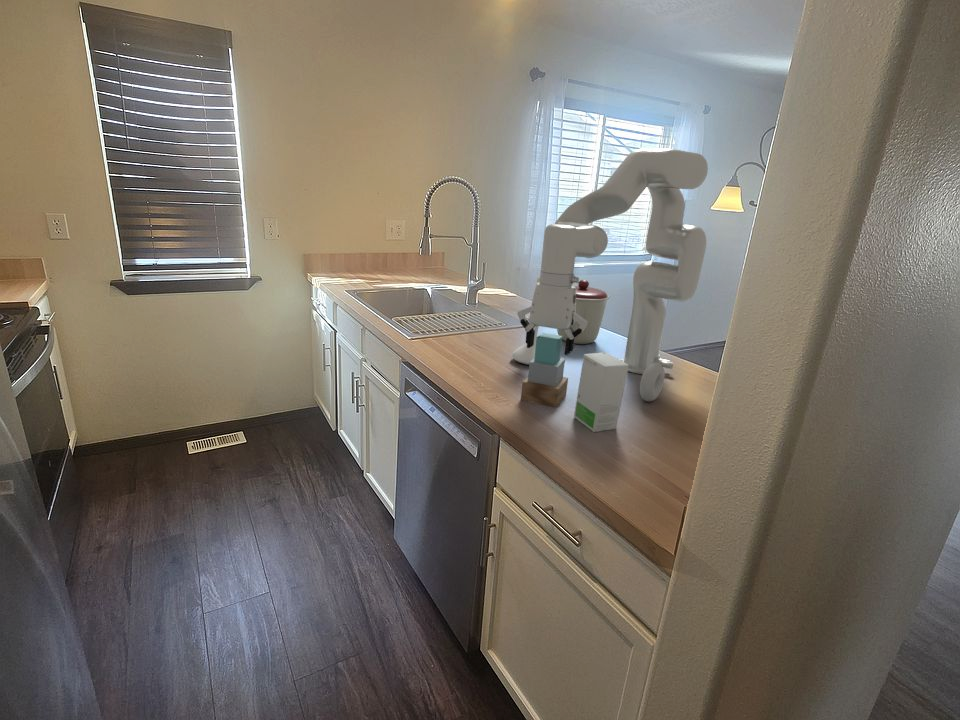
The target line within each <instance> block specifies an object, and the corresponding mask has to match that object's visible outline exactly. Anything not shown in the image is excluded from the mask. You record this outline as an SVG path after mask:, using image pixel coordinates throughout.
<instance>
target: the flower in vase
mask: <svg viewBox="0 0 960 720" xmlns="http://www.w3.org/2000/svg"><path fill="white" fill-rule="evenodd" d="M539 282H540V277H538V278H537V277H536V284H537V283H539ZM525 318H526V319H527V320H528V322H529V323H531V322H530V314H529V315H525ZM539 327H540V326H537V325H536V326H535V327H534V329H533V330H534V331H535V335H534V345H533V346H532V347H530V348H527V343H526V342H525V343H523V345H521V346H519V347H518V348H516V349H515V350H514V351H513V352H512V355H511V356H512V358H513V360H514V361H516V362H518V363H521V364H524V365H528V366H529V362H530V361H531V360H532V359H533V358H534V357H535V349H536V338H537V337H538V333H539V332H538V331H539Z"/></svg>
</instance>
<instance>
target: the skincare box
mask: <svg viewBox="0 0 960 720" xmlns="http://www.w3.org/2000/svg"><path fill="white" fill-rule="evenodd" d="M581 365H582V366H581V371H580V376H579V377H580V378H579V384H578V389H577V396H576V400H575V407H574V414H573V417H574V419H576V420H577V421H578V422H580V423H581V424H582V425H584V426H585V427H587V428H588V429H589V430H592V432H593V433H598V432H605V431H610V430H611V429H612V430H616V429H617V426H618V422H619V416H620V411H621V407H622V406H621V405H622V400H623V397H624V392H625V386H626V382H627V377H628V372H629V371H628V367H629V365H628V364H626V363H624V362H622V361H621V360H620V358H619V357H616V356H614V355H612V354H610V353H608V352H606V351H605V352H593V353H592V352H591V353H584V354H583V360H582V364H581ZM604 430H605V431H604Z"/></svg>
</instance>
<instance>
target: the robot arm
mask: <svg viewBox="0 0 960 720" xmlns="http://www.w3.org/2000/svg"><path fill="white" fill-rule="evenodd" d="M708 170H709V168H708V162H707V159H706V158H705V156H704V155H702V154H701V153H699V152H698V153H697V152H692V151H686V150H680V149H676V148H638V149H634V150H633V151H632V152H630V153H629V154H628V155H626V157H625V159H623V161H622V162H621V163H620V164H619V166H618V167H617V168H616V169H615V170H614V172H613V173H612V174H611V176H610V177H609V178H608V179H607V180H606V181H605V183H604V184H603V185H602V186H600V188H598V189H595V190H594V191H591V192H590V193H589V194H587V195H585V196H583V197H581V198H579V199H577V200H576V201H574V202H573V203H571V204H570V205H569V206H568V207H567V208H566V209H565V210H564V211H563V212H562V213H561V215H560V216H559V217H558V218H557V220H556V221H555V222H554V223H553V224H549V225H547V226H546V227H545V229H544V234H543V244H542V253H541V262H540V263H541V264H540V266H541V267H540V274H539V276H540V282H539V283H537V282H536V286H535V289H534V293H533V296H532V301H531V306H529V307H526V308H524V309H520V310H518V311H517V313H516V314H517V317H518V318H519V322H520V324H521V326H522V327H523V328H524V331H525V332H526V334H525V343H527V348H530V347H532V346H533V345H534V335H535V331H534V330H533V329H534V327H535V326H536V325H537V326H539V327H543V328H547V329H548V328H549V329H555V330H557V329H560V330H564V331H565V333H566V334H567V336H568V338H567V339H566V341H565V344H564V353H563V354H564V355H565V356H569V354H571V353H572V352H573V350H574V338H575V337H576V336H578V335H579V334H580V333H581V332H582V331H583V330H584V329H585V327H586V326H587V325H588V322H587V321H586V320H585V319H583V318H582V317H581V316H579V315H578V314H577V313H575V312H576V290H575V287H574V286H575V285H573V284H578V283H579V281H580V278H579V276H575V273H574V271H575V261H576V258H577V257H578V258H579V257H580V258H586V259H592V258H593V259H594V258H597V257H599V256H601V255H602V254H603V253H604V252H605V251H606V249H607V247H608V243H609V242H608V241H609V240H608V239H609V238H608V235H607V233H606V231H605V230H604V229H603V228H602V227H600V226H597V225H594V224H592V223H594V222H596V221H600V220H604V219H608V218H612V217H616V216H618V215H622V214H624V213H627V212H628V211H629V210H630V209H631V207H632V206H633V205H634V203H635V202H636V201H637V199H638V198H639V197H640V196H641V195H642V193H643V192H644V191H645V189H646V188H647V189H648V191H649V194H650V197H651V205H652V206H651V214H650V217H649V218H650V219H649V222H648V229H647V234H646V241H645V249H646V252H647V253H648V254H649V255H650V256H653V257H657V258H663V259H668V260H674V261H678V263H677V265H676V264H671V263H666V262H661V261H653V260H652V261H644V262H642V263H641V264H639V265H638V266H636V268H635V270H634V272H633V281H632V285H633V298H632V299H633V300H632V307H631V309H632V310H631V315H630V319H629V321H630V322H629V327H628V334H627V338H626V339H627V341H626V345H625V350H624V351H625V353H624V357H623V358H619V360H621V361H622V362H624V363H626V364H628V365H629V367H628V372H630V373H633V374H637V375H638V374H639V375H643V373H644V371H645V369H646V368H647V367H648V366H649V365H650V364H652V363H659V364H660V365H661V366H663V368H665V369H671V370H673V367H674V362H672V361H670V360H671V359H669V360H668V359H663V358H662V357H661V354H660V350H661V349H660V348H661V344H662V339H663V333H664V332H663V331H664V327H665V323H666V322H665V321H666V317H667V308H666V305H665V302H664V300H669V301H674V302H679V303H686V302H688V301H690V300H691V299H692V298H693V297H694V296H695V294H696V291H697V288H698V284H699V280H700V277H701V273H702V272H701V271H702V267H703V263H704V258H705V254H706V253H705V252H706V248H707V235H706V232H705V231H704V229H702V228H701V227H700V226H697V225H691V224H686V223H685V224H684V223H683V221H684V214H685V209H686V202H685V198H684V196H683V193H682V191H681V190H694V189H695V190H696V189H697V188H699V187H700V186H701V185H703V183H705V180H706V178H707V176H708V173H709V172H708ZM529 313H530V314H529ZM527 314H529V315H530V322H531V323H529V321H528V319H527V317H526V315H527ZM575 321H576V322H578V323H579V324H580V326H579V328H578V329H577V330H574V329H573V327H572V326H573V325H574V322H575Z"/></svg>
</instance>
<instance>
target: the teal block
mask: <svg viewBox="0 0 960 720" xmlns="http://www.w3.org/2000/svg"><path fill="white" fill-rule="evenodd" d="M562 337H563V336H559V335H558V334H552V333H547V332H542V333H541V334H539V335H537V338H536V349H535V359H534V361H536V362H541V363H546V364H551V365H555V364H556V363H557V362H558V361H559V360H560V358H561V355H562V354H561V353H562V345H563V340H562Z"/></svg>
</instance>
